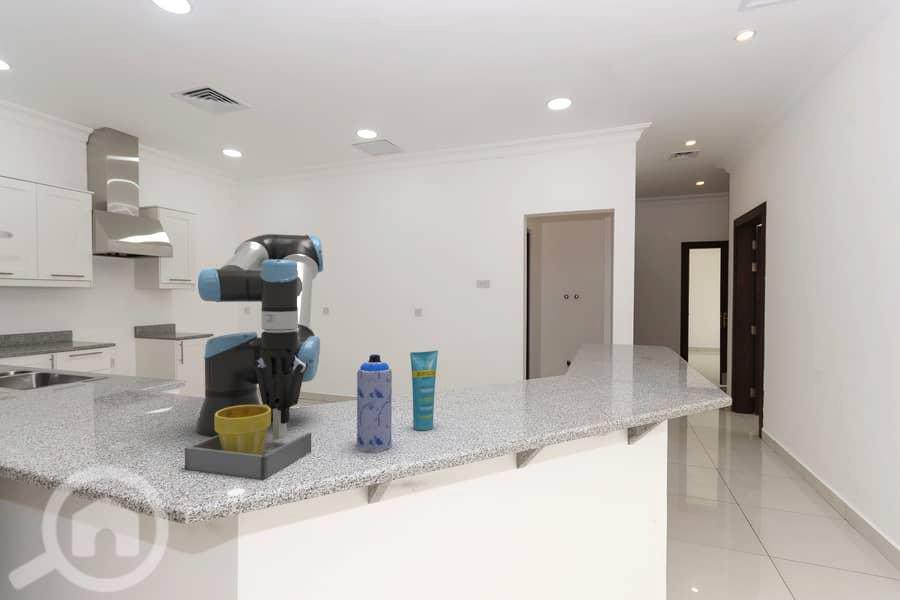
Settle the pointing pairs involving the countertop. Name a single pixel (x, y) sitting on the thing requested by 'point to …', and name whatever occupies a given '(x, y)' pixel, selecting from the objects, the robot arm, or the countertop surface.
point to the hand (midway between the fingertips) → (279, 437)
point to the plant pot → (243, 428)
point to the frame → (244, 458)
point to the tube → (423, 388)
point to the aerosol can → (374, 406)
